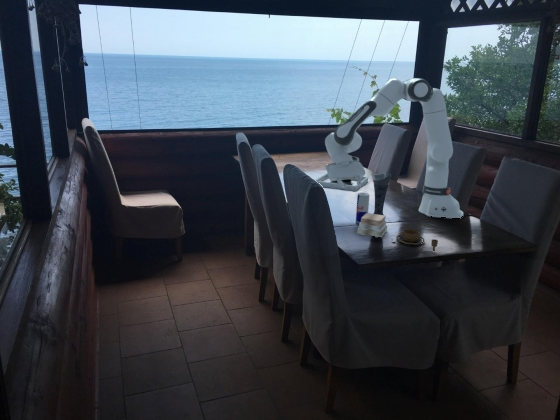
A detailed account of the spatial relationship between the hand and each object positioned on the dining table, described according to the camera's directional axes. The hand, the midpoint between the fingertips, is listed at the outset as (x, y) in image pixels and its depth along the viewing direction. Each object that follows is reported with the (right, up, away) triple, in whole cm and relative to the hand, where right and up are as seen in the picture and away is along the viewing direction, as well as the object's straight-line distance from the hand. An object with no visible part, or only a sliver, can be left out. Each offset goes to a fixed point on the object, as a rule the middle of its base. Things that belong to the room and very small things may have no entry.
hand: (352, 185), depth 240 cm
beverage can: (+4, -19, -3) cm, 19 cm away
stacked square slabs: (+7, -22, -15) cm, 28 cm away
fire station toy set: (+4, +4, +71) cm, 71 cm away
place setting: (+22, -27, -29) cm, 45 cm away
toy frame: (+4, +5, +73) cm, 73 cm away
